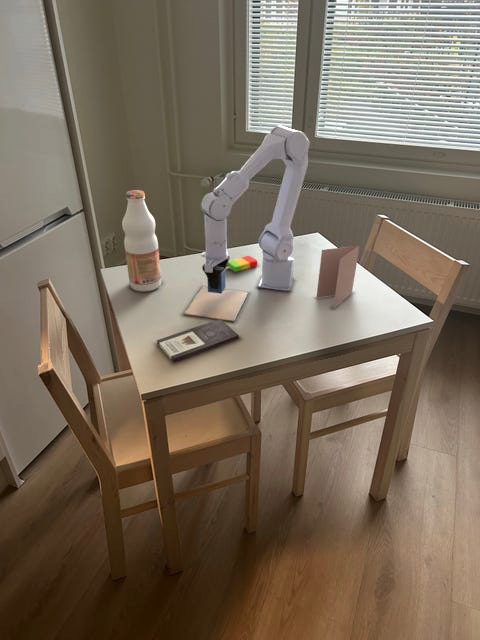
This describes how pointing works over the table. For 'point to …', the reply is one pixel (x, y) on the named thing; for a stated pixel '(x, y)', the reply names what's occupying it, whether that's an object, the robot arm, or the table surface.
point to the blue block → (221, 284)
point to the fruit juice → (141, 244)
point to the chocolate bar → (197, 340)
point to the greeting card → (337, 272)
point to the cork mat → (217, 304)
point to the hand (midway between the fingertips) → (216, 284)
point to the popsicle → (241, 263)
